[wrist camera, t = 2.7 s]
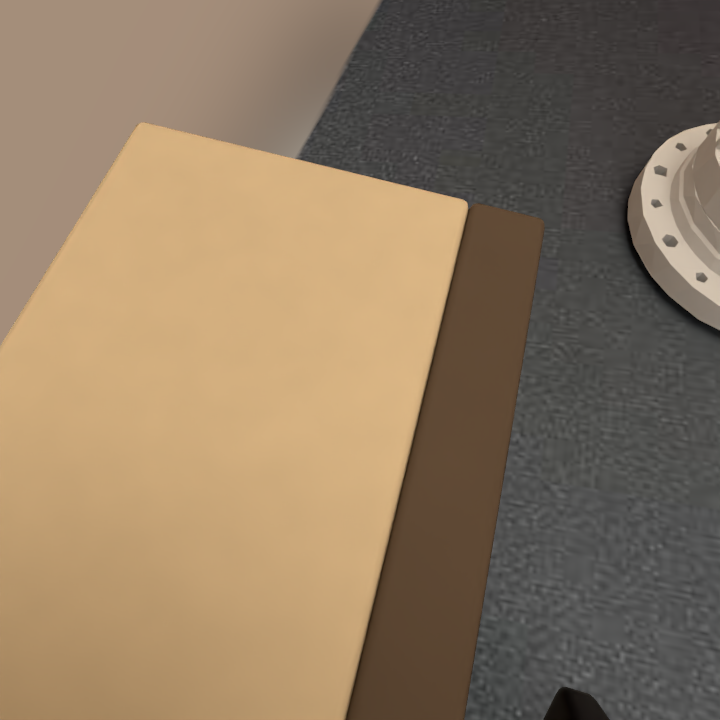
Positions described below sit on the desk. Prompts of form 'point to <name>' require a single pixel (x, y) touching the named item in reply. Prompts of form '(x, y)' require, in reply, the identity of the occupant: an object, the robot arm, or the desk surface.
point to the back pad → (257, 443)
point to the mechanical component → (682, 220)
